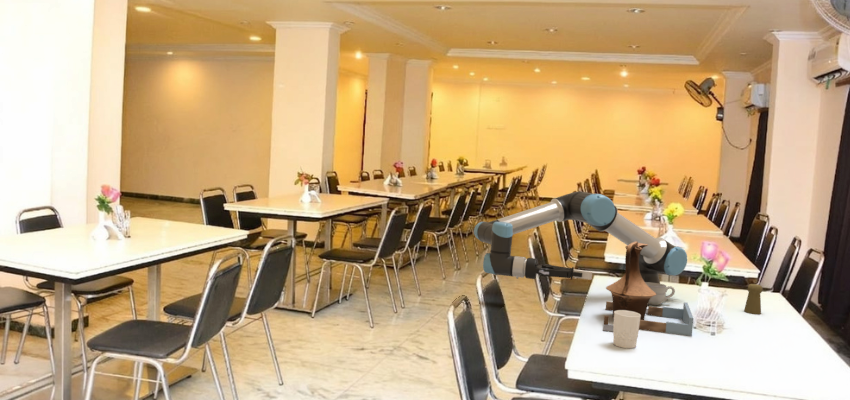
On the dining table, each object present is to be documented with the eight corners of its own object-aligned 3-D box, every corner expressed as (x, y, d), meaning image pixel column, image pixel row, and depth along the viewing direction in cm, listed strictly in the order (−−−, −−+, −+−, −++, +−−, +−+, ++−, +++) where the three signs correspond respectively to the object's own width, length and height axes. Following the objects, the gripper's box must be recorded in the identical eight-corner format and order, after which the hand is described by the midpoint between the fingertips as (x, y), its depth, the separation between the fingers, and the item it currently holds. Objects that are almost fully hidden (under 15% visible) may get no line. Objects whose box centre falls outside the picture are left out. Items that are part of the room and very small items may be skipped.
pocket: (665, 332, 235) (667, 315, 235) (662, 316, 259) (663, 299, 258) (691, 336, 233) (693, 318, 232) (685, 318, 256) (687, 302, 256)
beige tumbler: (623, 350, 212) (626, 317, 211) (605, 342, 219) (608, 310, 218) (643, 347, 216) (646, 315, 215) (625, 340, 223) (627, 309, 222)
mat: (602, 330, 233) (602, 330, 233) (603, 325, 240) (603, 324, 240) (634, 334, 230) (634, 334, 230) (634, 328, 238) (634, 328, 238)
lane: (603, 324, 241) (604, 316, 240) (605, 309, 264) (606, 301, 264) (665, 332, 235) (666, 323, 235) (661, 315, 259) (662, 307, 258)
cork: (757, 311, 277) (760, 283, 276) (763, 314, 271) (766, 286, 270) (741, 309, 277) (744, 282, 276) (747, 313, 271) (750, 285, 270)
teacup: (634, 304, 276) (636, 284, 275) (637, 299, 286) (639, 279, 285) (672, 309, 270) (674, 289, 270) (674, 304, 280) (675, 284, 280)
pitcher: (645, 329, 238) (653, 247, 236) (596, 319, 247) (603, 240, 245) (658, 319, 253) (666, 242, 251) (612, 310, 262) (618, 235, 260)
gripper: (527, 275, 265) (591, 282, 259) (522, 281, 253) (590, 289, 246) (529, 255, 265) (593, 262, 258) (524, 260, 252) (592, 268, 246)
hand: (591, 275), depth 252 cm, fingers closed
